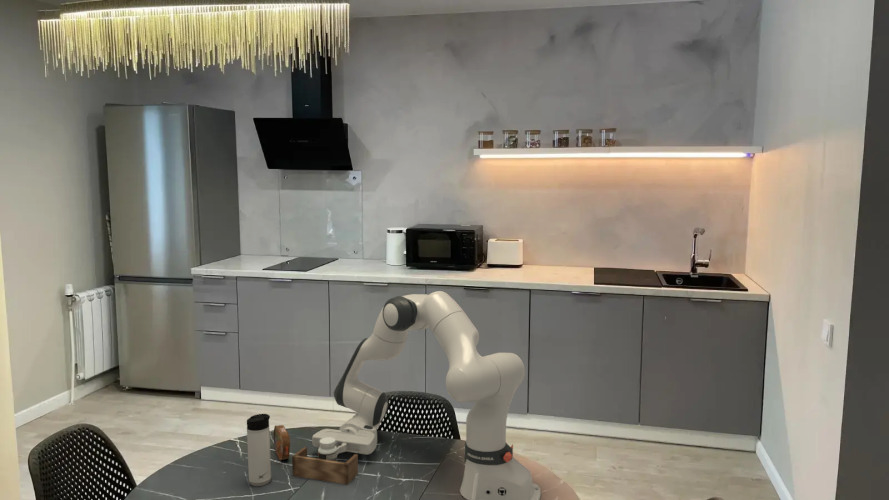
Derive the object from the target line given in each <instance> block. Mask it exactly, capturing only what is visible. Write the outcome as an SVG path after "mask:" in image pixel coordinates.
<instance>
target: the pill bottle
mask: <svg viewBox="0 0 889 500" xmlns="http://www.w3.org/2000/svg"><path fill="white" fill-rule="evenodd" d="M317 459H323V460H330V461H337V462H338V455H337V447H336V446H335V439H334V438H331V437H326V438H322V439H321V440H320V447H318V448H317Z"/></svg>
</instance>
